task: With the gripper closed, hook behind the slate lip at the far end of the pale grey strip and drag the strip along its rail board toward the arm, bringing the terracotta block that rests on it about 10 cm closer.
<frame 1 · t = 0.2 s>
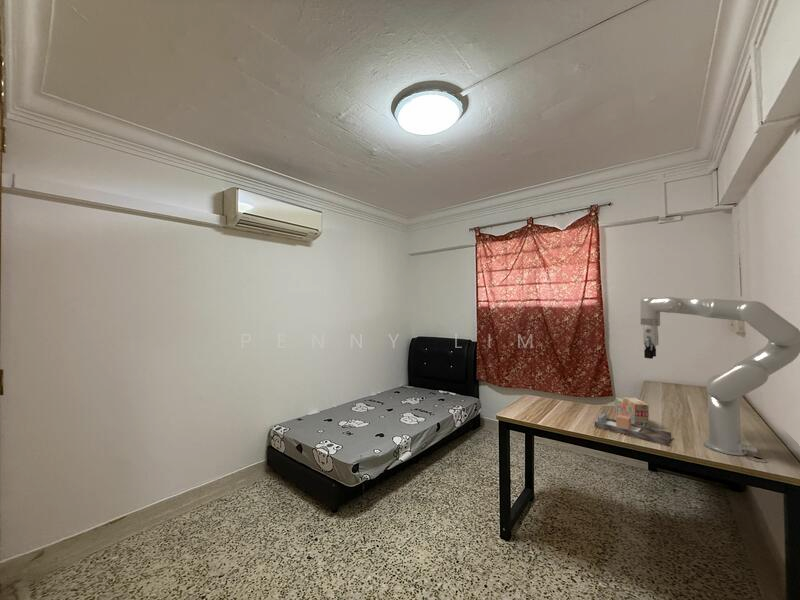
hand: (650, 357, 152), 37 cm above the table, tool pointing down, fingers open, 9 cm apart
strip: (618, 423, 154), point 3 cm above the table, slide at 0.0 cm, touching terracotta block
stack of blocks: (630, 421, 166), on the table
rail board: (631, 432, 150), on the table
terracotta block: (623, 427, 152), point 2 cm above the table, touching strip
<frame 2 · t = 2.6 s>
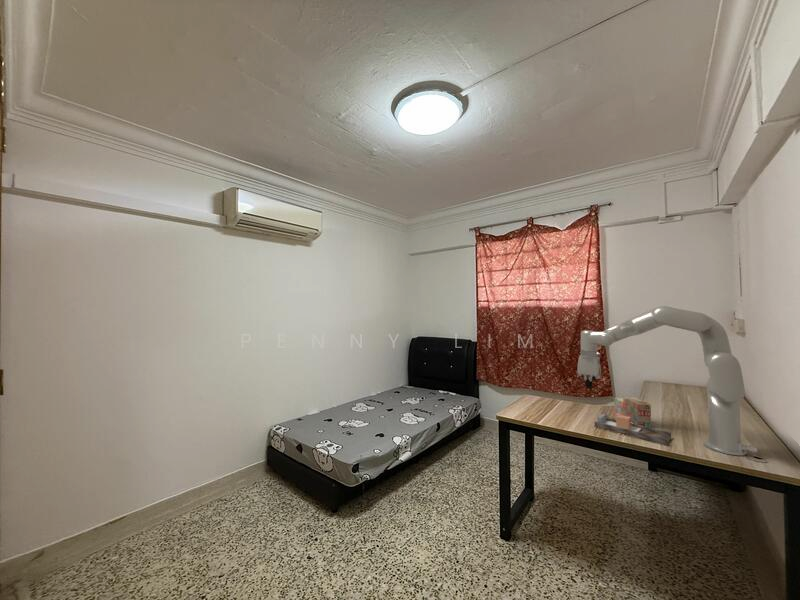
hand: (588, 388, 164), 18 cm above the table, tool pointing down, fingers closed
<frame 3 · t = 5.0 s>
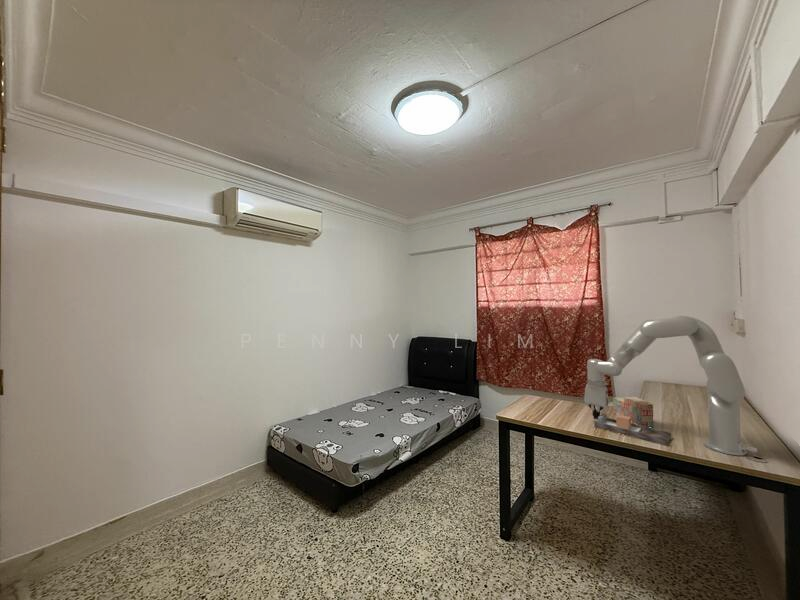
hand: (596, 418, 161), 3 cm above the table, tool pointing down, fingers closed
strip: (619, 423, 154), point 3 cm above the table, slide at 0.0 cm, touching gripper, terracotta block
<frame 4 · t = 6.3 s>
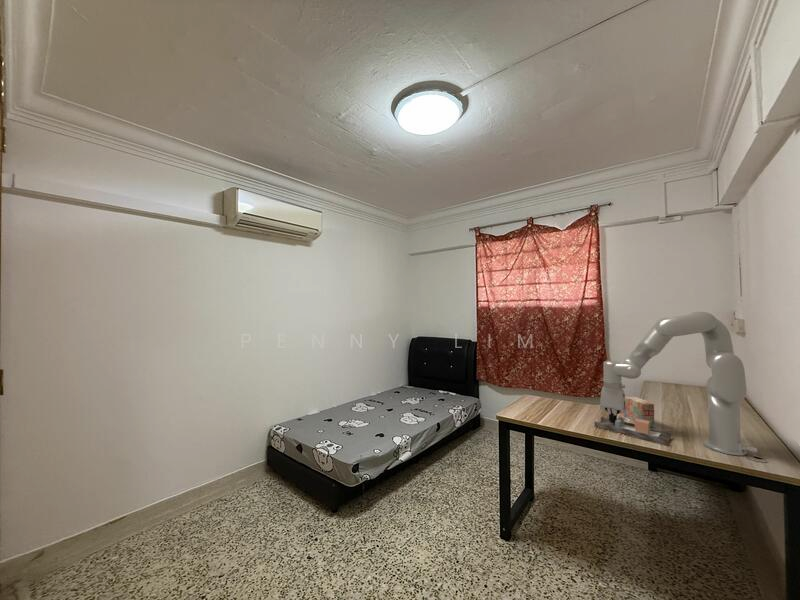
hand: (612, 422, 155), 3 cm above the table, tool pointing down, fingers closed
strip: (637, 427, 148), point 3 cm above the table, slide at 7.4 cm, touching gripper, terracotta block
terracotta block: (642, 431, 147), point 2 cm above the table, touching strip
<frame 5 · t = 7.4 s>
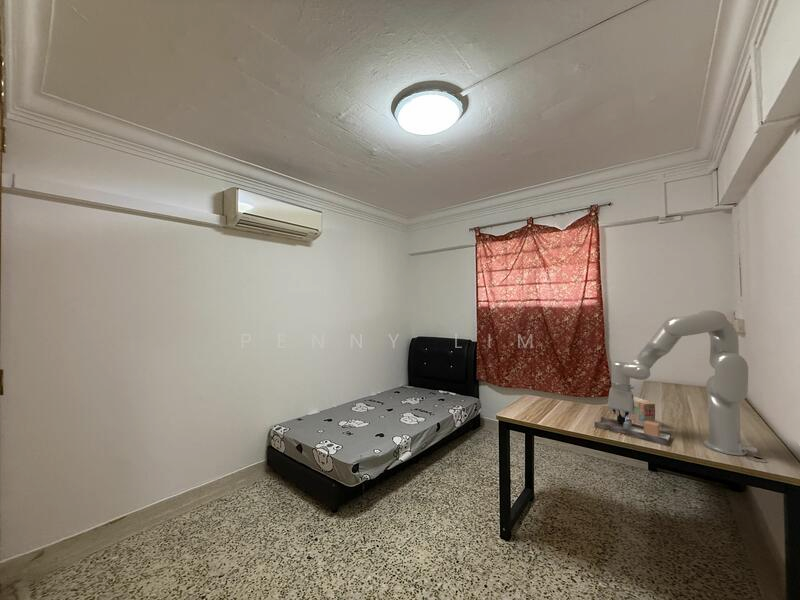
hand: (621, 423, 153), 3 cm above the table, tool pointing down, fingers closed
strip: (646, 429, 146), point 3 cm above the table, slide at 10.9 cm, touching gripper, terracotta block
terracotta block: (651, 433, 144), point 2 cm above the table, touching strip
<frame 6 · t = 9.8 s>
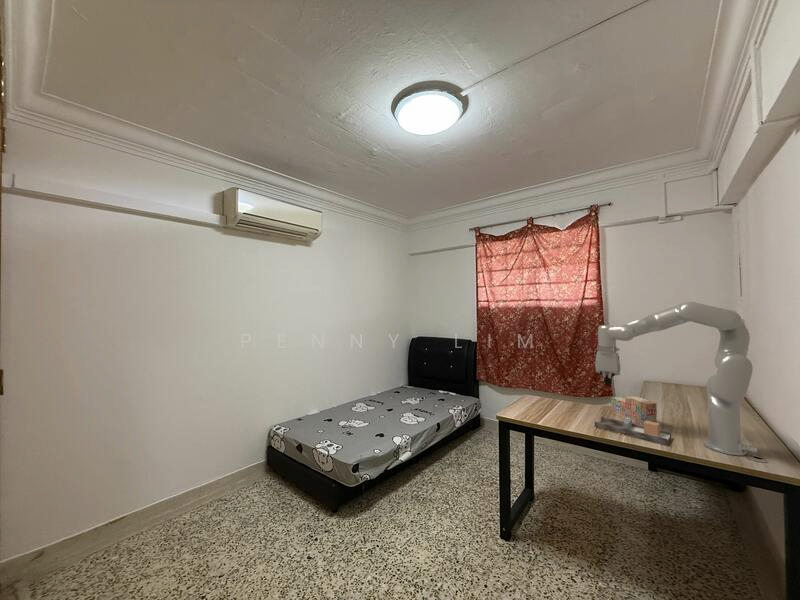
hand: (607, 385, 158), 21 cm above the table, tool pointing down, fingers closed
strip: (646, 429, 146), point 3 cm above the table, slide at 10.9 cm, touching terracotta block
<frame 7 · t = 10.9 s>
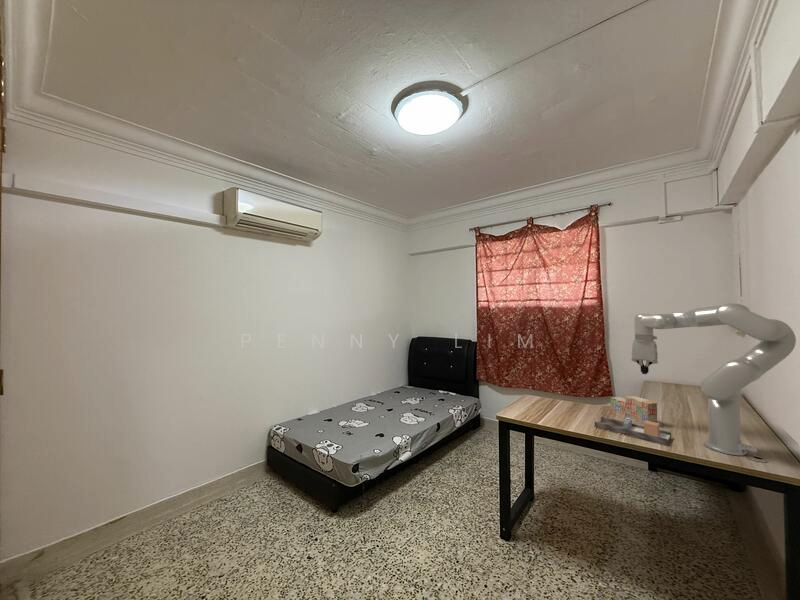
hand: (644, 373, 158), 27 cm above the table, tool pointing down, fingers closed
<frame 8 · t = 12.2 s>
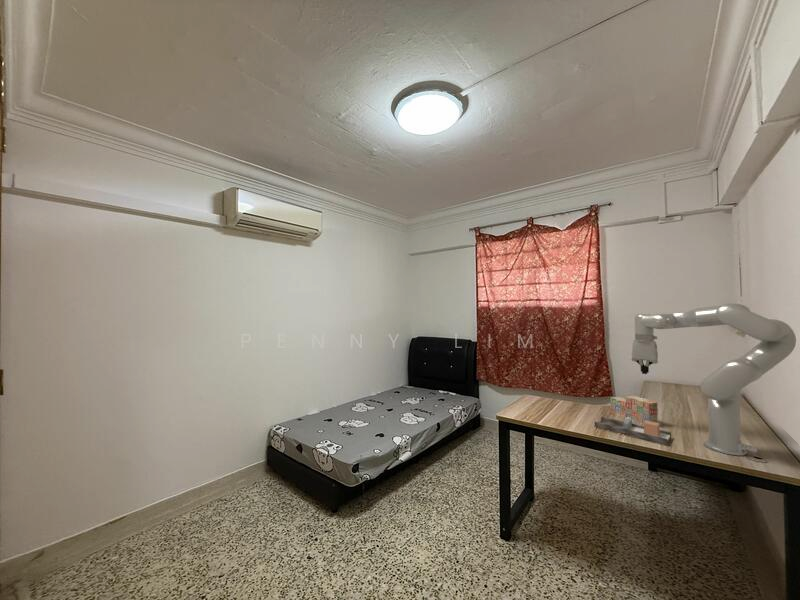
hand: (644, 373, 158), 27 cm above the table, tool pointing down, fingers closed
at the end: strip slide at 10.9 cm; terracotta block inside the target area (1.9 cm from its centre), point 1.9 cm above the table; terracotta block tilted 0° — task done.
